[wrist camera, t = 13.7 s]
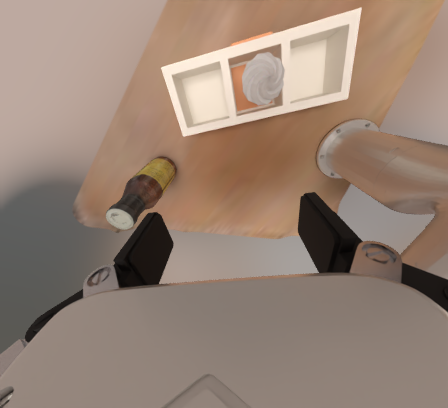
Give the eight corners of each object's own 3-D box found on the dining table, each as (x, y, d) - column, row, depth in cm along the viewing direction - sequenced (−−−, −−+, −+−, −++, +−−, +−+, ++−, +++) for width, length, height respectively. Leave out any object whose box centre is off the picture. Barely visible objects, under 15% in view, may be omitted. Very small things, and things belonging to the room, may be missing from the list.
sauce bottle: (151, 153, 39) (90, 193, 22) (177, 158, 39) (138, 202, 22) (152, 178, 42) (100, 230, 25) (176, 183, 43) (141, 237, 26)
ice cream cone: (249, 59, 28) (266, 25, 16) (275, 80, 30) (309, 64, 17) (232, 93, 31) (234, 86, 18) (256, 110, 32) (273, 116, 20)
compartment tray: (333, 23, 27) (362, 0, 21) (326, 99, 32) (347, 98, 26) (173, 69, 30) (159, 62, 24) (191, 130, 36) (183, 136, 30)
